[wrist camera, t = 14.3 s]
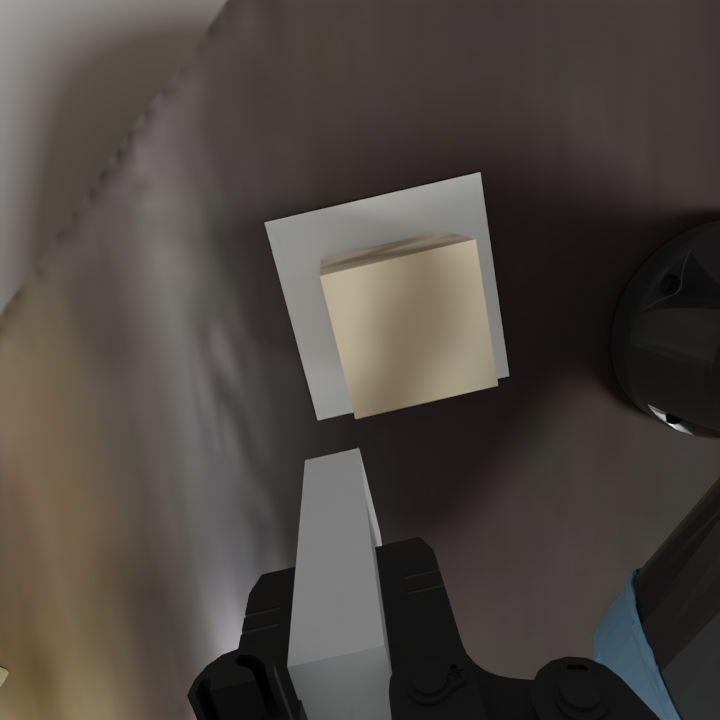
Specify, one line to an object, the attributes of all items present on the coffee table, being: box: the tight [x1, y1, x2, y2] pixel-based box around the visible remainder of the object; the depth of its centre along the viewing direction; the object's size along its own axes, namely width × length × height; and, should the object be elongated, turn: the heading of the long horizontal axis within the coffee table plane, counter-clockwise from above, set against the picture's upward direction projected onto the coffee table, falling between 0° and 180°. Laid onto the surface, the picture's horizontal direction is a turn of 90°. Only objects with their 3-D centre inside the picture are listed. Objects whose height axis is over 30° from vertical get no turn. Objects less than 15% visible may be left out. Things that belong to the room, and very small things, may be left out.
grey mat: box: [264, 172, 509, 420], centre depth 35 cm, size 14×14×1 cm
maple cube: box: [320, 230, 498, 419], centre depth 31 cm, size 8×8×8 cm
